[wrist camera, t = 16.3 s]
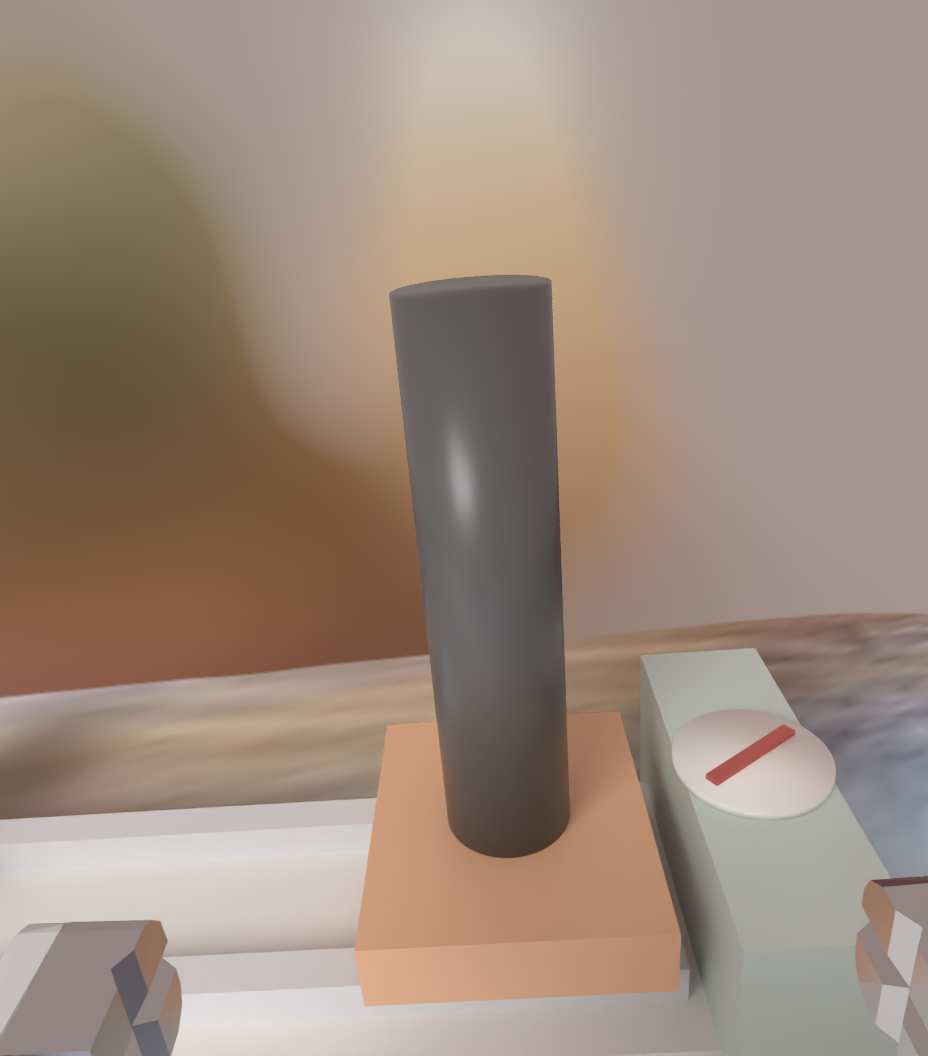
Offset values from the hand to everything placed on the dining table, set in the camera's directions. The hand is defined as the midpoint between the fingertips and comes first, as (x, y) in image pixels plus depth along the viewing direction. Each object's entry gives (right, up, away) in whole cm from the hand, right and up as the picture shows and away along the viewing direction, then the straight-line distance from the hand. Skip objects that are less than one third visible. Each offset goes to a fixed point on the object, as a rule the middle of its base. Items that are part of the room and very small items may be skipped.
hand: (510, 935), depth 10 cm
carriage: (+1, -5, +16) cm, 16 cm away
